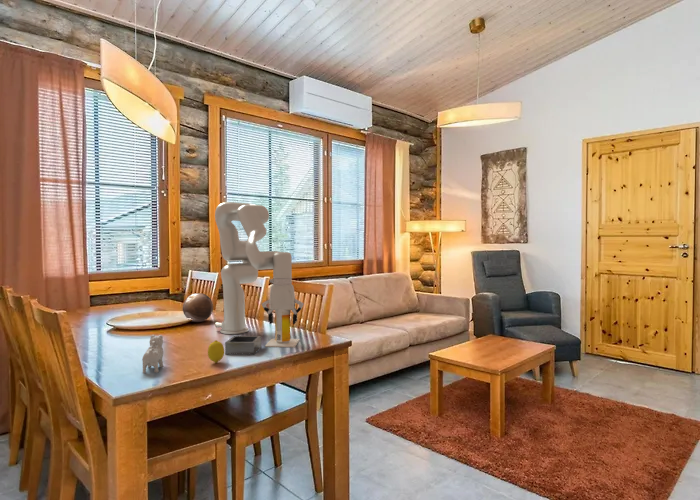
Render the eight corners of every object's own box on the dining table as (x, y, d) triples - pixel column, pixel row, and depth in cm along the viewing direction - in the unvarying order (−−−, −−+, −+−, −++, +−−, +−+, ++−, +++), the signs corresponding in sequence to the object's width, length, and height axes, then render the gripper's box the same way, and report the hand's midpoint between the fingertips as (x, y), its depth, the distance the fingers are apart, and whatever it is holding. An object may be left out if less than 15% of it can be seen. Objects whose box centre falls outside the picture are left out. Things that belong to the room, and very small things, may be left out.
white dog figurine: (166, 362, 157) (166, 332, 157) (158, 373, 145) (157, 340, 145) (150, 363, 156) (149, 333, 156) (140, 374, 144) (140, 341, 144)
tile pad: (265, 347, 179) (265, 345, 179) (271, 340, 191) (271, 338, 191) (294, 347, 178) (294, 345, 178) (299, 340, 190) (299, 338, 190)
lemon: (209, 361, 159) (209, 338, 159) (225, 360, 159) (225, 338, 159) (206, 365, 154) (205, 342, 153) (222, 365, 154) (222, 342, 154)
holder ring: (225, 354, 168) (225, 342, 168) (234, 347, 179) (233, 335, 179) (254, 354, 168) (254, 342, 167) (261, 347, 179) (261, 336, 178)
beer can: (292, 340, 187) (292, 305, 186) (286, 344, 181) (286, 307, 180) (279, 339, 189) (279, 304, 188) (272, 343, 183) (272, 306, 182)
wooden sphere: (176, 323, 227) (176, 294, 226) (195, 318, 241) (194, 291, 241) (202, 325, 223) (201, 295, 222) (219, 320, 237) (218, 291, 236)
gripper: (259, 283, 181) (259, 325, 181) (302, 283, 180) (302, 325, 180) (263, 281, 188) (264, 321, 189) (304, 281, 187) (304, 321, 188)
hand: (282, 323), depth 184 cm, fingers open, 9 cm apart
